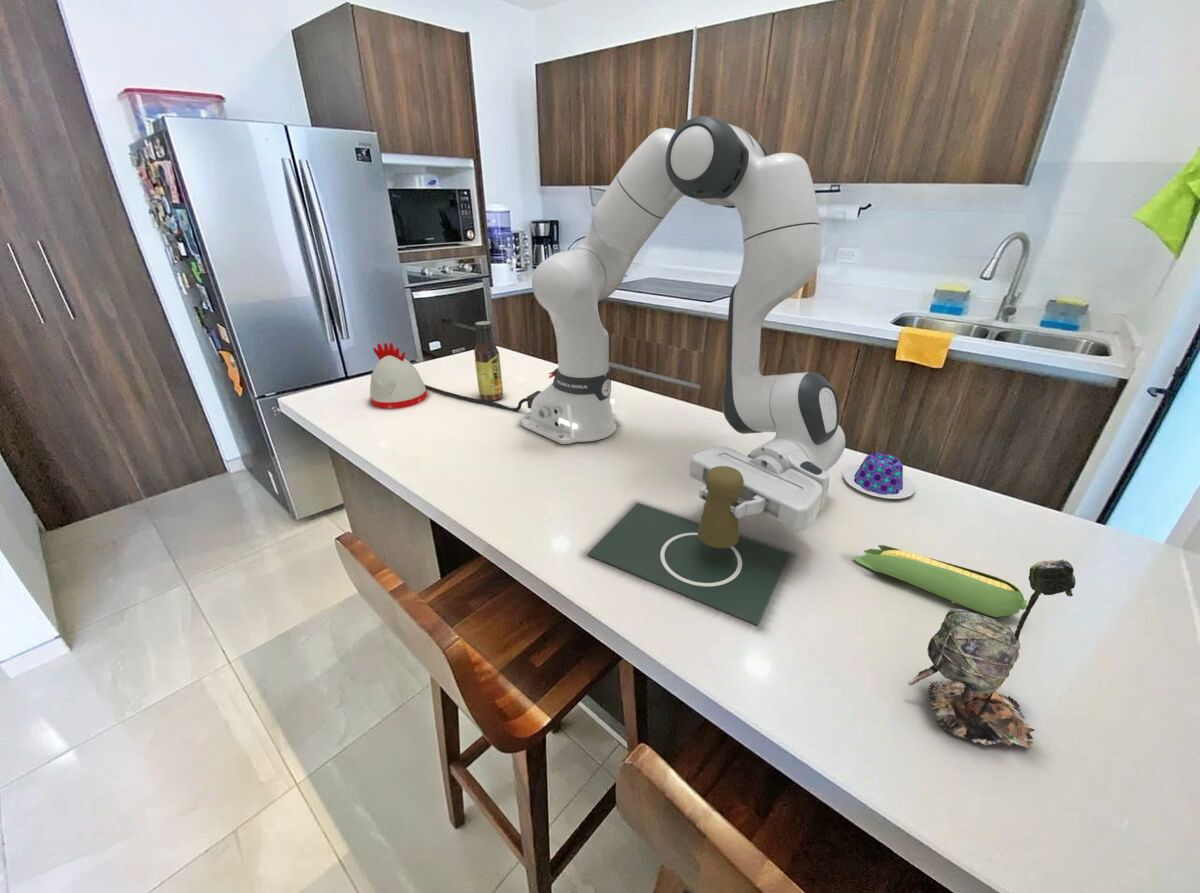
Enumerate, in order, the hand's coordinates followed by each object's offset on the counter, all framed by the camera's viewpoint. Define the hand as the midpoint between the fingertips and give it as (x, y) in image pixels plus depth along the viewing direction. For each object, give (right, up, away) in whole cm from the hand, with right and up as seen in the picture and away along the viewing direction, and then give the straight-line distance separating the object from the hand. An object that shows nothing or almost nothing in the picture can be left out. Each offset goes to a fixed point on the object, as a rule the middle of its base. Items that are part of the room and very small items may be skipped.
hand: (718, 503), depth 70 cm
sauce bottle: (-46, +21, +63) cm, 80 cm away
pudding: (+35, +1, +23) cm, 42 cm away
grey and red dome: (-70, +21, +63) cm, 96 cm away
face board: (-3, -8, +5) cm, 11 cm away
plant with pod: (+22, -20, -17) cm, 35 cm away
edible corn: (+29, -12, -1) cm, 31 cm away
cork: (+1, -5, +3) cm, 6 cm away
